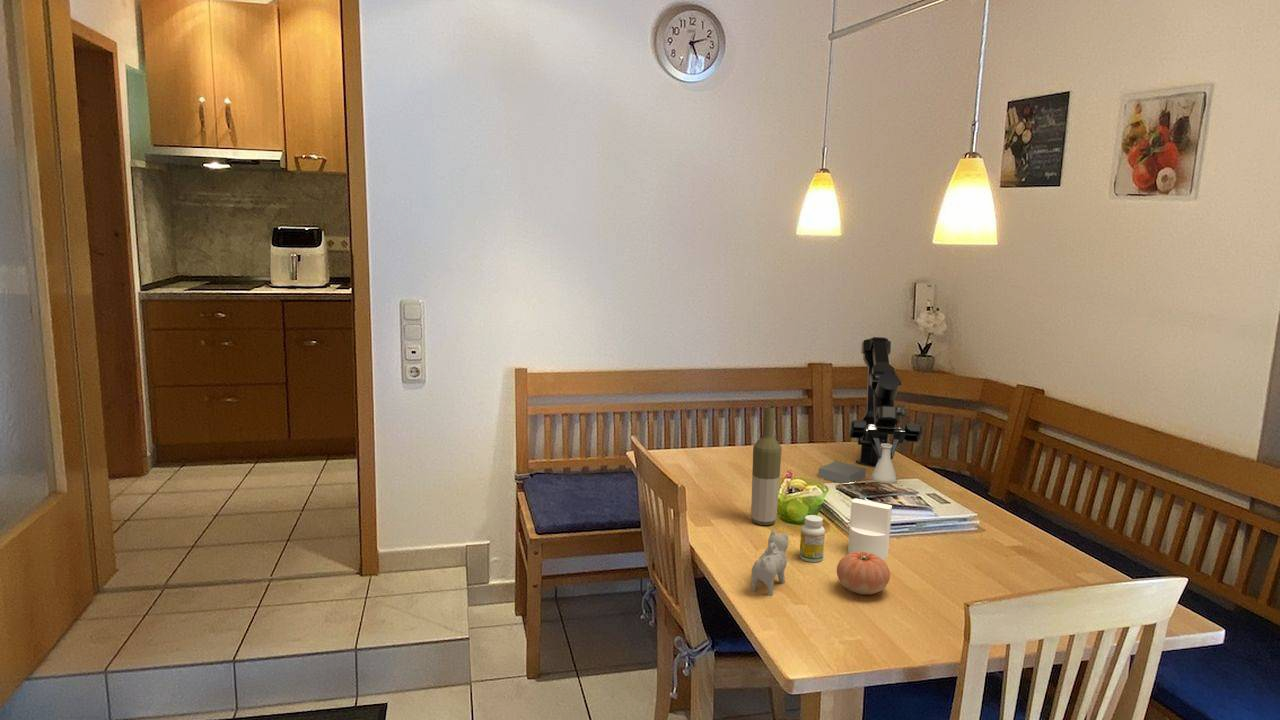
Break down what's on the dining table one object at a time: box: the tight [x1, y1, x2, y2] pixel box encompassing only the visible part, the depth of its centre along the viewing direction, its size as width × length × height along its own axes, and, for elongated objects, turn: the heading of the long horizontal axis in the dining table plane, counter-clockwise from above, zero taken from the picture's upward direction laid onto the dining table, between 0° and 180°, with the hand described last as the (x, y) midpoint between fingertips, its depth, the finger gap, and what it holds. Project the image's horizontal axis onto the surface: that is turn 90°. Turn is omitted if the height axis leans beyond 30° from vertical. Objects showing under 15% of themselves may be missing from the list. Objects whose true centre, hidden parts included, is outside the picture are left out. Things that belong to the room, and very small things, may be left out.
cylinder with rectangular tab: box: [847, 497, 893, 560], centre depth 195 cm, size 9×9×12 cm
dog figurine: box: [750, 529, 789, 596], centre depth 178 cm, size 5×13×11 cm, turn 151°
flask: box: [869, 443, 898, 484], centre depth 231 cm, size 7×7×10 cm
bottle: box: [750, 405, 782, 526], centre depth 211 cm, size 7×7×30 cm
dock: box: [818, 460, 867, 484], centre depth 250 cm, size 10×10×3 cm
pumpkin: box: [836, 552, 891, 595], centre depth 176 cm, size 11×11×8 cm
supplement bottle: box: [799, 514, 826, 563], centre depth 191 cm, size 5×5×10 cm
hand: (886, 458), depth 229 cm, fingers closed on flask, 3 cm apart
